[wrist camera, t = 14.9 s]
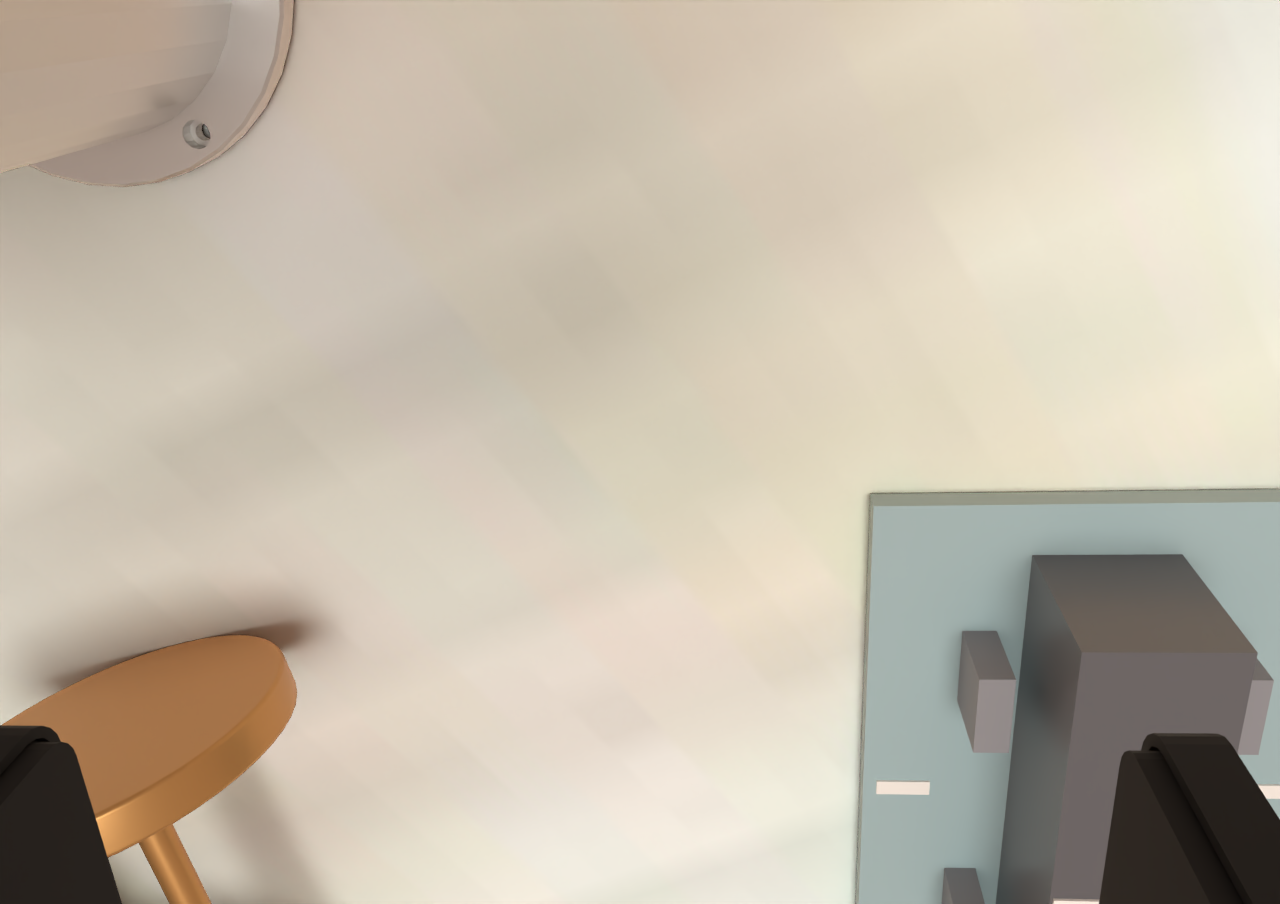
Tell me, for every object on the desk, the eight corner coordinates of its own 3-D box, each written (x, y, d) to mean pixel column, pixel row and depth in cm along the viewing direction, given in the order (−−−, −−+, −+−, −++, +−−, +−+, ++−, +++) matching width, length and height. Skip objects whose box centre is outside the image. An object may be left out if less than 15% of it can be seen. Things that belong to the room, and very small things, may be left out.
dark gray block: (1032, 554, 39) (1083, 654, 33) (1182, 554, 38) (1259, 654, 33) (987, 978, 47) (1022, 1116, 41) (1111, 981, 46) (1164, 1121, 41)
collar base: (852, 991, 49) (862, 1073, 45) (870, 493, 39) (884, 548, 36) (1235, 1001, 47) (1277, 1087, 44) (1349, 488, 38) (1415, 544, 34)
